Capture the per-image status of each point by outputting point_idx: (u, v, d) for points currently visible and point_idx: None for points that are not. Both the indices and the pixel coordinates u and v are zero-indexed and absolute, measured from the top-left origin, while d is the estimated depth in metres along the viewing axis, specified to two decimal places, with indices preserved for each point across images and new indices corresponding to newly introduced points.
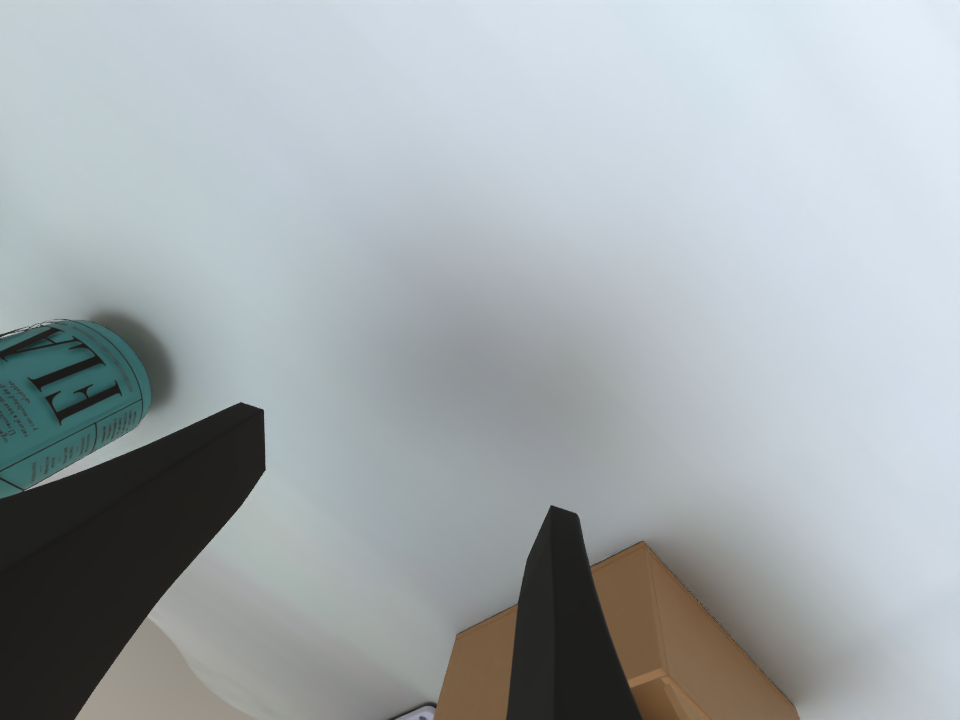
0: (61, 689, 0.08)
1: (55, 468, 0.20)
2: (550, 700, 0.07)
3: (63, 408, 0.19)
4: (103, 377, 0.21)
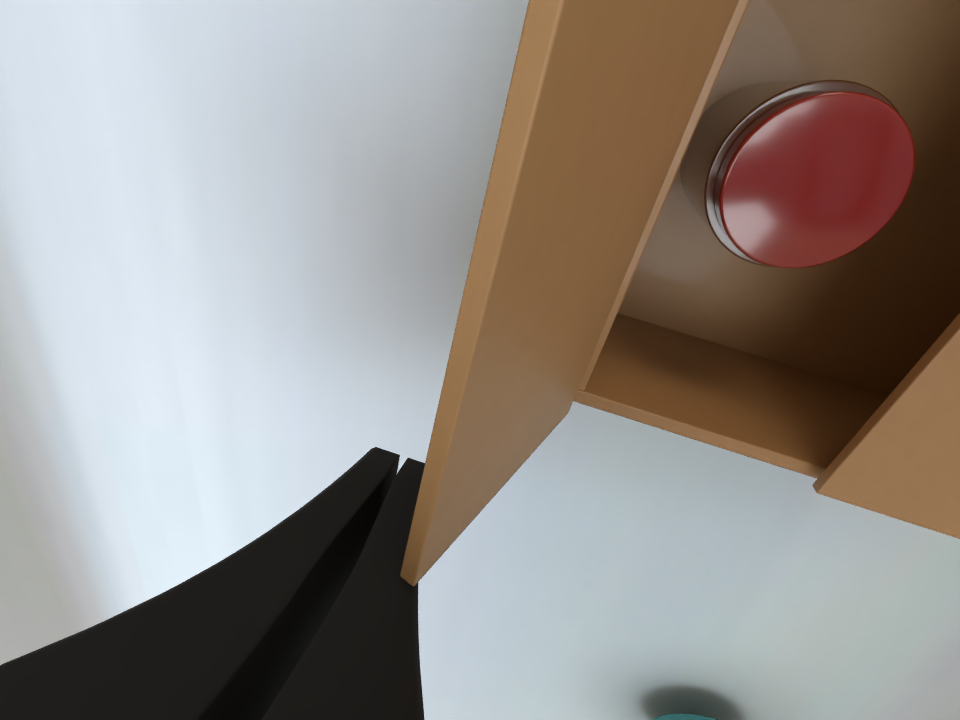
0: None
1: None
2: (327, 619, 0.07)
3: None
4: None
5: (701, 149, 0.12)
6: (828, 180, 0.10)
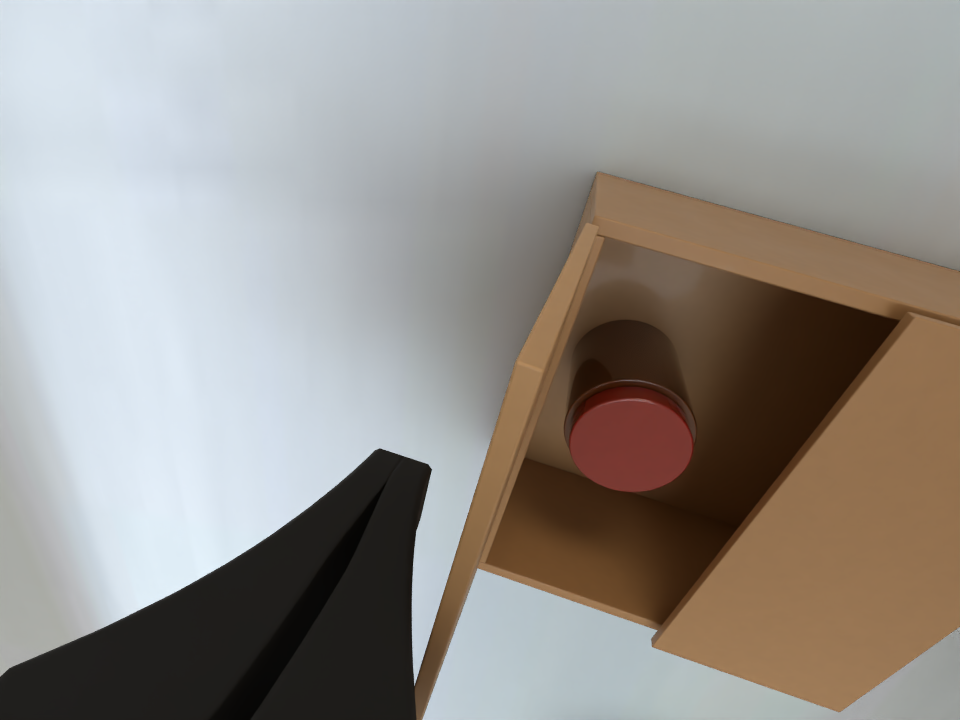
0: None
1: None
2: (320, 617, 0.07)
3: None
4: None
5: (569, 386, 0.16)
6: (638, 445, 0.14)
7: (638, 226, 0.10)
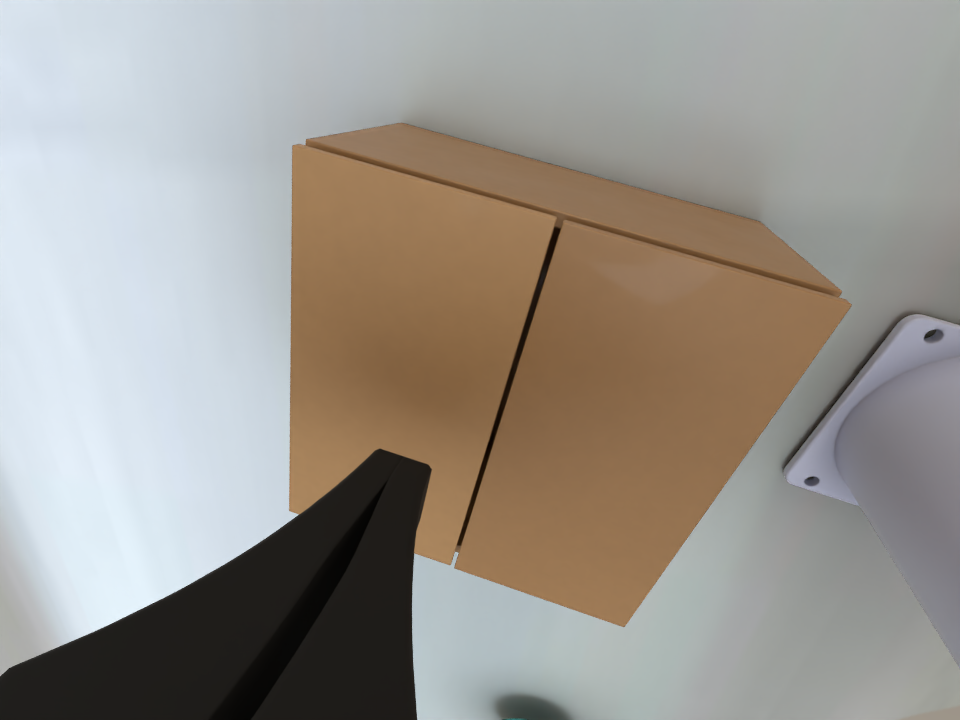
0: None
1: None
2: (320, 617, 0.07)
3: None
4: None
5: None
6: None
7: (344, 149, 0.11)
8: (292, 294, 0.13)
